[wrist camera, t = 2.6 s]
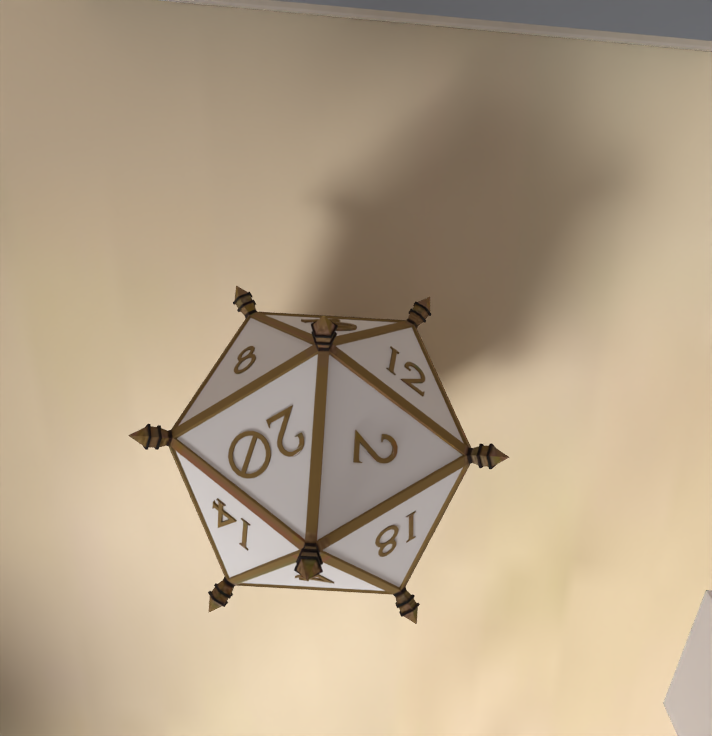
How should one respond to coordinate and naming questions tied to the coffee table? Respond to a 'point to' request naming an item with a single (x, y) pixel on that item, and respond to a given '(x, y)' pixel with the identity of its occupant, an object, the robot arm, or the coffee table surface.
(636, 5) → the square tray
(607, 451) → the coffee table surface
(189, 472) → the game die
